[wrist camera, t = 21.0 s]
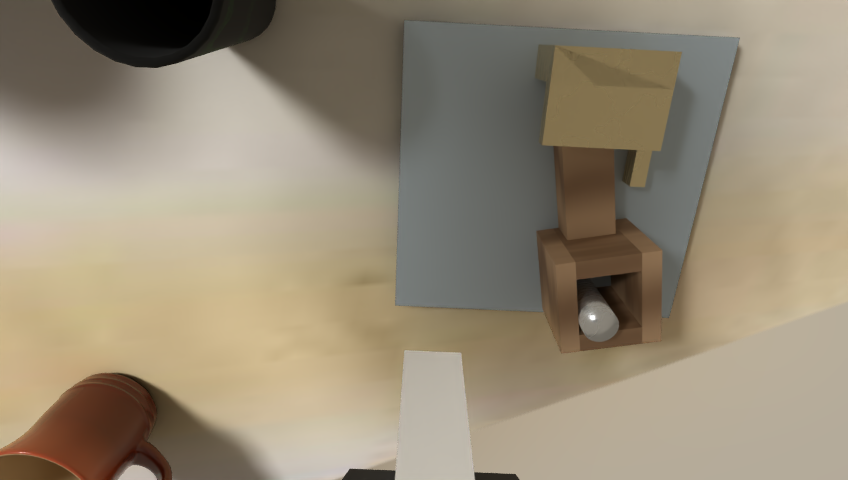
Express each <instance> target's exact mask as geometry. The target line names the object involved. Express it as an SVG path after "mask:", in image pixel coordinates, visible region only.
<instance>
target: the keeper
mask: <svg viewBox="0 0 848 480" xmlns="http://www.w3.org/2000/svg"><path fill="white" fill-rule="evenodd" d="M681 55H682V52H677V51H658V50H639V49H619V48H600V47H581V46H561V45H539V46H538V54H537V63H536V71H535V78H537V79H540V80H543V81H545V82H546V89H545V97H544V105H543V113H542V120H541V128H540V136H539V143H540V144H541V145H546V146H566V147H586V148H607V149H627V150H628V154H627V159H626V164H625V170H624V175H623V180H622V181H623V182H624V183H626V184H627V185H628V186H630V187H645V183H646V178H647V174H648V169H649V164H650V159H651V155H652V151H661V147H662V142H663V138H664V133H665V129H666V124H667V119H668V115H669V110H670V106H671V101H672V96H673V92H674V87H675V82H676V78H677V73H678V69H679V64H680V59H681Z"/></svg>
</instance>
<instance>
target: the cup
mask: <svg viewBox="0 0 848 480" xmlns="http://www.w3.org/2000/svg"><path fill="white" fill-rule="evenodd" d="M51 1H52V3H53V4H54V6H55V8H56V10H57V12H58V14H59V15H60V16H61V18H62V19H63V20H64V21H65V22H66V24H67V25H68V26H69V27H70V29H71V30H72V31H73V32H74V33H75V35H77V36H78V37H79V38H80V39H81V40H83V41H84V42H85V43H86V44H87V45H89V46H90V47H91V48H92V49H93V50H95V51H97V52H99V53H101V54H102V55H104V56H106V57H108V58H110V59H112V60H114V61H116V62H120V63H123V64H127V65H130V66H134V67H148V68H158V67H163V66H167V65H171V64H176V63H179V62H182V61H185V60H188V59H191V58H195V57H198V56H201V55H204V54H207V53H210V52H213V51H216V50H219V49H223V48H226V47H229V46H232V45H235V44H238V43H241V42H244V41H248V40H251V39H253V38H254V37H256V36H258V35H260V34H261V33H262V32H263V31H264V30H265V29H266V28H267V27H268V25H269V23H270V22H271V20H272V18H273V15H274V11H275V6H276V0H51Z"/></svg>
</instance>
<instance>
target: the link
mask: <svg viewBox="0 0 848 480" xmlns="http://www.w3.org/2000/svg"><path fill="white" fill-rule="evenodd" d="M553 147H554V163H555V179H556V195H557V211H558V227H559V228H553V229H546V230H538V231H536V235H537V247H538V260H539V272H540V285H541V297H542V309H543V311H544V314H545V316H546V318H547V321H548V323H549V325H550V328H551V330H552V332H553V335H554V337H555V339H556V342H557V344H558V346H559V349H560V351H561V353H569V352H577V351H585V350H593V349H601V348H609V347H617V346H625V345H633V344H641V343H649V342H657V341H661V317H662V249H660V248H659V247H658V246H657V245H656V244H655V243H654V242H653V241H651V240H650V239H649V238H648V237H647V236H646V235H645V234H644V233H643V232H641V231H640V230H639V229H638V228H637V227H636V226H635V225H634V224H632V223H631V222H630V221H629V220H628V219H627V218H624V219H617V220H615V175H614V149H607V148H586V147H566V146H553ZM609 275H611V286H604V287H596V288H597V289H598V291H599V292H600V294H601V295H602V297H603V298H604V299H605V301H606V302H607V304H608V305H609V307H610V308H611V310H612V311H613V313H614V314H615V316H616V317H617V319H618V321H619V328H618V331H617V332H616V334H615V335H614V336H613V337H612V338H610V339H609V340H606V341H603V342H595V341H592V340H590V339H588V338H587V337H586V336H585V334H584V332H583V331H582V329H581V327H580V325H579V321H578V301H577V282H576V280H579V279H586V278H594V277H601V276H609Z"/></svg>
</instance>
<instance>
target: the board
mask: <svg viewBox="0 0 848 480" xmlns="http://www.w3.org/2000/svg"><path fill="white" fill-rule="evenodd" d="M739 39H740V38H735V37H716V36H697V35H678V34H658V33H639V32H620V31H601V30H582V29H563V28H543V27H524V26H505V25H486V24H467V23H447V22H428V21H409V20H404V46H403V78H402V110H401V142H400V173H399V205H398V237H397V268H396V300H395V305H398V306H420V307H442V308H464V309H486V310H508V311H530V312H544V311H543V309H542V297H541V285H540V272H539V260H538V247H537V235H536V231H538V230H546V229H553V228H559V227H558V211H557V195H556V179H555V163H554V147H553V146H546V145H541V144H540V143H539V136H540V128H541V120H542V113H543V105H544V97H545V89H546V82H545V81H543V80H540V79H537V78H535V71H536V63H537V54H538V46H539V45H561V46H581V47H600V48H619V49H639V50H658V51H677V52H682V55H681V59H680V64H679V69H678V73H677V78H676V82H675V87H674V92H673V96H672V101H671V106H670V110H669V115H668V119H667V124H666V129H665V133H664V138H663V142H662V147H661V151H652V155H651V159H650V164H649V169H648V174H647V178H646V183H645V187H630V186H628V185H627V184H626V183H624V182H623V181H622V180H623V175H624V170H625V164H626V159H627V154H628V150H627V149H614V175H615V220H617V219H624V218H627V219H628V220H629V221H630V222H631V223H632V224H634V225H635V226H636V227H637V228H638V229H639V230H640V231H641V232H643V233H644V234H645V235H646V236H647V237H648V238H649V239H650V240H651V241H653V242H654V243H655V244H656V245H657V246H658V247H659V248H660V249H662V318H669V316H670V312H671V309H672V305H673V301H674V297H675V293H676V289H677V285H678V281H679V277H680V273H681V269H682V265H683V261H684V257H685V253H686V249H687V245H688V241H689V237H690V233H691V229H692V225H693V221H694V217H695V213H696V209H697V205H698V202H699V198H700V194H701V190H702V186H703V182H704V178H705V174H706V170H707V166H708V162H709V158H710V154H711V150H712V146H713V142H714V138H715V134H716V130H717V126H718V122H719V118H720V114H721V110H722V106H723V102H724V98H725V95H726V91H727V87H728V83H729V79H730V75H731V71H732V67H733V63H734V59H735V55H736V51H737V47H738V43H739ZM590 279H591V280H592V282H593V283H594V285H595V286H596V287H604V286H611V275H609V276H601V277H594V278H590Z"/></svg>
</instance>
